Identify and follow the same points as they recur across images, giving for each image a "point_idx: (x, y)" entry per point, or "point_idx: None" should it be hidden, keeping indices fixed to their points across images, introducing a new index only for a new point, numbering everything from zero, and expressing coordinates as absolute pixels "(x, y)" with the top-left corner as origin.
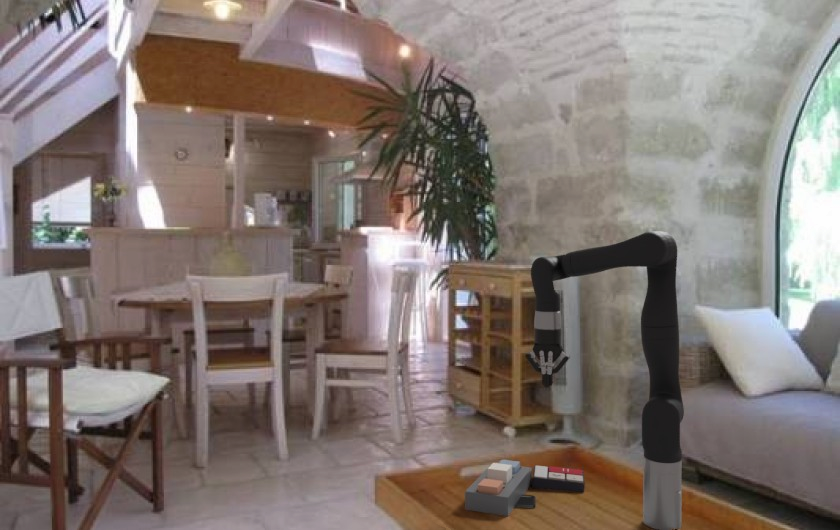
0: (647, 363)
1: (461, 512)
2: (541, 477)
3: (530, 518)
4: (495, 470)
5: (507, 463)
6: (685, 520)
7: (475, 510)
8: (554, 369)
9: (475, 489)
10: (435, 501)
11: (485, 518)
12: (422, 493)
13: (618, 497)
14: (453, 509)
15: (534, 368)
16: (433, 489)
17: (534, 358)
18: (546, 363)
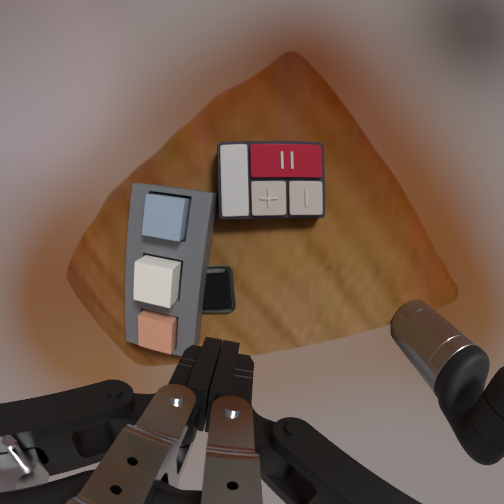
0: None
1: None
2: (237, 215)
3: None
4: (148, 302)
5: (160, 219)
6: (439, 302)
7: None
8: (262, 477)
9: (137, 332)
10: (95, 304)
11: None
12: (72, 276)
13: (376, 231)
14: (124, 328)
15: (98, 433)
16: (78, 258)
17: (32, 437)
18: (171, 472)
